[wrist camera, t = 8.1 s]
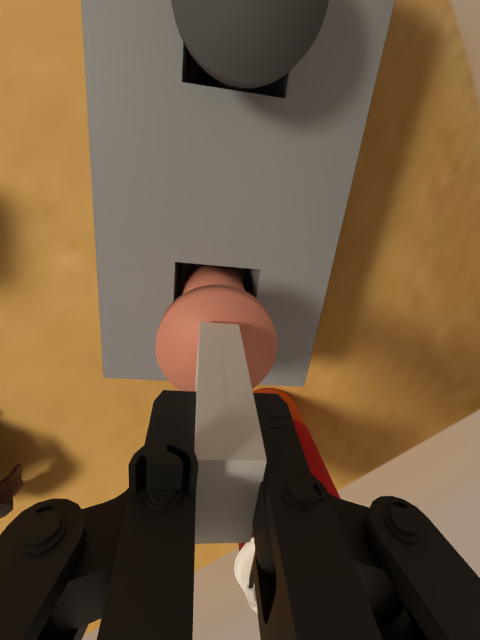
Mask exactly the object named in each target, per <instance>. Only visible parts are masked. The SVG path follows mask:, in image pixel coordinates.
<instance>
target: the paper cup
mask: <svg viewBox="0 0 480 640" xmlns="http://www.w3.org/2000/svg"><path fill="white" fill-rule="evenodd" d="M253 393H275V394H278V395H279V396H280V397H281V398H282V399H283V400H284V401H285V402H286V403H287V404H288V407H289V410H290V413H291V416H292V420H293V422H294V425H295V430H296V431H297V434H298V436H299V439H300V442H301V445H302V448H303V451H304V454H305V457H306V460H307V463H308V466H309V469H310V471H311V474H312V475H313V476H315V477H316V478H317V479H318V480H319V481H320V482H321V483H323V485H324V486H325V488H326V490H327V491H328V493H330V494H332V495H333V496H335V497H337V498H340V497H339V495H338V492H337V490H336V488H335V486H334V484H333V482H332V479H331V477H330V475H329V473H328V471H327V469H326V467H325V464H324V462H323V460H322V458H321V456H320V454H319V452H318V450H317V447H316V445H315V443H314V441H313V439H312V437H311V435H310V433H309V431H308V428H307V426H306V424H305V422H304V420H303V418H302V416H301V414H300V412H299V410H298V408H297V406H296V404H295V402H294V401H293V399H292V398H291V397H290V396H289V395H288V394H287V393H285V392H283V391H281V390H278V389H273V388H264V389H259V390H256V391H254V392H253ZM254 553H255V544H254V536H253V531H252V535H251V540H250V542H246V543H239V553H238V555H237V557H236V561H235V565H234V569H235V570H234V572H235V576H236V579H237V581H238V582H239V584H240V586H241V587H242V588H243V590H244V592H245V594H246V596H247V600H248V604H249V606H250V607H251V608H252V609H253V610H254V611H255V612H257V613H258V611H257V602H256V594H255V585H254V587H253V588H248V587H249V576H250V571H251V567H252V562H253V558H254Z"/></svg>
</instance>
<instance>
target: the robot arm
mask: <svg viewBox="0 0 480 640" xmlns="http://www.w3.org/2000/svg"><path fill="white" fill-rule="evenodd" d="M252 531H253V536H254V544H255V553H254V558H253V562H252V567H251V571H250V576H249V587H248V588H253V587H254V585H255V594H256V602H257V611H258V620H259V629H260V637H261V640H480V578H479V577H478V576H477V575H476V573H475V572H474V571H473V570H472V569H471V568H470V566H469V565H468V564H467V563H466V562H465V561H464V559H463V558H462V557H461V556H460V555H459V554H458V552H457V551H456V550H455V549H454V548H453V547H452V545H451V544H450V543H449V542H448V541H447V540H446V539H445V537H444V536H443V535H442V534H441V533H440V531H439V530H438V529H437V528H436V527H435V526H434V525H433V523H432V522H431V521H430V520H429V519H428V518H427V517H426V516H425V515H424V514H423V513H422V512H421V511H420V510H419V509H418V508H417V507H415V506H414V505H412V504H410V503H409V502H407V501H405V500H403V499H400V498H397V497H393V496H382V497H379V498H377V499H376V500H374V501H373V502H372V504H371V506H370V508H368V507H365V506H362V505H358V504H355V503H352V502H348V501H345V500H342V499H340V498H337V497H335V496H333V495H332V494H330V493H328V491H327V490H326V488H325V486H324V485H323V483H321V482H320V481H319V480H318V479H317V478H316V477H315V476H313V475H312V474H311V471H310V469H309V466H308V463H307V460H306V457H305V454H304V451H303V448H302V445H301V442H300V439H299V436H298V434H297V431H296V430H295V425H294V422H293V420H292V416H291V413H290V410H289V407H288V404H287V403H286V402H285V401H284V400H283V399H282V398H281V397H280V396H279V395H278V394H275V393H253V391H252V386H251V381H250V376H249V371H248V367H247V362H246V357H245V352H244V347H243V342H242V337H241V333H240V328H239V324H225V323H210V322H200V326H199V339H198V353H197V366H196V379H195V392H194V391H168V390H163V391H162V393H161V394H160V395H159V396H158V397H157V398H156V399H155V401H154V403H153V408H152V413H151V417H150V422H149V428H148V431H147V436H146V441H145V445H144V446H143V447H142V448H141V449H139V450H138V451H137V452H136V453H135V454H134V455H133V457H132V459H131V461H130V463H129V488H128V489H127V490H126V491H125V492H124V493H123V494H121V495H119V496H118V497H116V498H115V499H112V500H110V501H107V502H105V503H102V504H98V505H95V506H91V507H88V508H85V509H81V508H80V507H79V505H78V504H77V503H74V502H72V501H70V500H68V499H50V500H46V501H42V502H39V503H36V504H35V505H33V506H31V507H29V508H28V509H26V510H24V511H22V512H21V513H20V514H19V515H18V516H17V517H16V518H15V519H14V520H13V521H12V522H11V523H10V524H9V525H8V526H7V527H6V529H5V530H4V531H3V532H2V534H1V535H0V640H82V637H83V635H84V633H85V631H86V629H87V626H88V624H89V623H91V622H94V621H96V620H98V619H101V618H102V619H101V623H100V628H99V632H98V637H97V640H192V631H193V592H194V591H193V590H194V552H195V544H199V543H246V542H250V540H251V535H252Z"/></svg>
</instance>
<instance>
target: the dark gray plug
mask: <svg viewBox="0 0 480 640" xmlns="http://www.w3.org/2000/svg"><path fill="white" fill-rule="evenodd" d="M328 3H329V0H171V4H172V8H173V13H174V17H175V21H176V25H177V27H178V30H179V33H180V36H181V38H182V40H183V42H184V44H185V46H186V48H187V49H188V51H189V53H190V54H191V56H192V57H193V58H194V60H195V61H196V62H197V63H198V67H199V71H200V75H201V77H202V80H203V82H204V83H205V85H206V86H210V87H216V88H222V89H229V90H235V91H241V92H248V93H252V92H253V91H254V90H255V89H256V88H257V87H262V86H266V85H268V84H271V83H273V82H275V81H277V80H278V79H280V78H282V77H283V76H284V75H286V74H287V73H288V72H289V71H290V70H291V69H292V68H293V67H294V66H295V65H296V64H297V63H298V62H299V61H300V60H301V59H302V58H303V57H304V55H305V54H306V53H307V51H308V50H309V49H310V47H311V46H312V44H313V42H314V41H315V39H316V37H317V35H318V33H319V31H320V29H321V27H322V24H323V21H324V18H325V15H326V12H327V7H328Z"/></svg>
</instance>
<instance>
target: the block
mask: <svg viewBox="0 0 480 640" xmlns="http://www.w3.org/2000/svg"><path fill="white" fill-rule="evenodd" d="M394 2H395V0H329V3H328V7H327V12H326V15H325V18H324V21H323V24H322V27H321V29H320V31H319V33H318V35H317V37H316V39H315V41H314V42H313V44H312V46H311V47H310V49H309V50H308V51H307V53H306V54H305V55H304V57H303V58H302V59H301V60H300V61H299V62H298V63H297V64H296V65H295V66H294V67H293V68H292V69H291V70H290V71H289V72H288V73H287V74H286V75H284V76H283V77H282V78H280V79H278V80H277V81H275V82H273V83H271V84H268V85H266V86H262V87H257V88H256V89H255V90H254V91H253V92H252V93H248V92H241V91H235V90H229V89H222V88H216V87H210V86H206V85H205V83H204V82H203V80H202V77H201V75H200V71H199V67H198V63H197V62H196V61H195V60H194V58H193V57H192V56H191V54H190V53H189V51H188V49H187V48H186V46H185V44H184V42H183V40H182V38H181V36H180V33H179V30H178V27H177V25H176V21H175V17H174V13H173V8H172V4H171V0H81V7H82V24H83V41H84V57H85V74H86V91H87V108H88V125H89V142H90V159H91V176H92V192H93V209H94V226H95V243H96V260H97V277H98V294H99V311H100V328H101V344H102V361H103V378H122V379H144V380H167V381H169V380H168V379H167V378H166V377H165V375H164V374H163V372H162V371H161V369H160V367H159V364H158V362H157V358H156V352H155V343H156V337H157V333H158V329H159V326H160V322H161V320H162V317H163V315H164V313H165V312H166V310H167V309H168V307H169V306H170V305H171V304H172V303H173V302H174V301H175V300H176V299H177V298H178V297H180V296H181V295H182V293H183V288H184V282H185V277H186V273H187V271H188V269H189V267H190V266H191V265H192V264H204V265H215V266H226V267H237V268H238V270H239V273H240V275H241V279H242V282H243V285H244V289H245V291H246V292H248V293H249V294H251V295H252V296H254V297H255V298H256V299H258V301H259V302H260V303H261V304H262V305H263V306H264V308H265V309H266V310H267V312H268V314H269V316H270V318H271V321H272V323H273V326H274V328H275V331H276V335H277V343H278V348H277V355H276V359H275V362H274V364H273V367H272V368H271V370H270V372H269V373H268V374H267V376H266V377H265V378H264V379H263V380H262V381H261V382H260V383H259V385H282V386H304V384H305V380H306V376H307V372H308V367H309V363H310V359H311V355H312V350H313V346H314V342H315V338H316V333H317V329H318V325H319V321H320V316H321V312H322V308H323V303H324V299H325V295H326V291H327V286H328V282H329V278H330V274H331V269H332V265H333V261H334V257H335V252H336V248H337V244H338V240H339V235H340V231H341V227H342V223H343V218H344V214H345V210H346V206H347V201H348V197H349V193H350V189H351V184H352V180H353V176H354V172H355V167H356V163H357V159H358V155H359V150H360V146H361V142H362V138H363V133H364V129H365V125H366V121H367V116H368V112H369V108H370V104H371V99H372V95H373V91H374V87H375V82H376V78H377V74H378V70H379V65H380V61H381V57H382V53H383V48H384V44H385V40H386V36H387V31H388V27H389V23H390V19H391V14H392V10H393V6H394Z"/></svg>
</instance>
